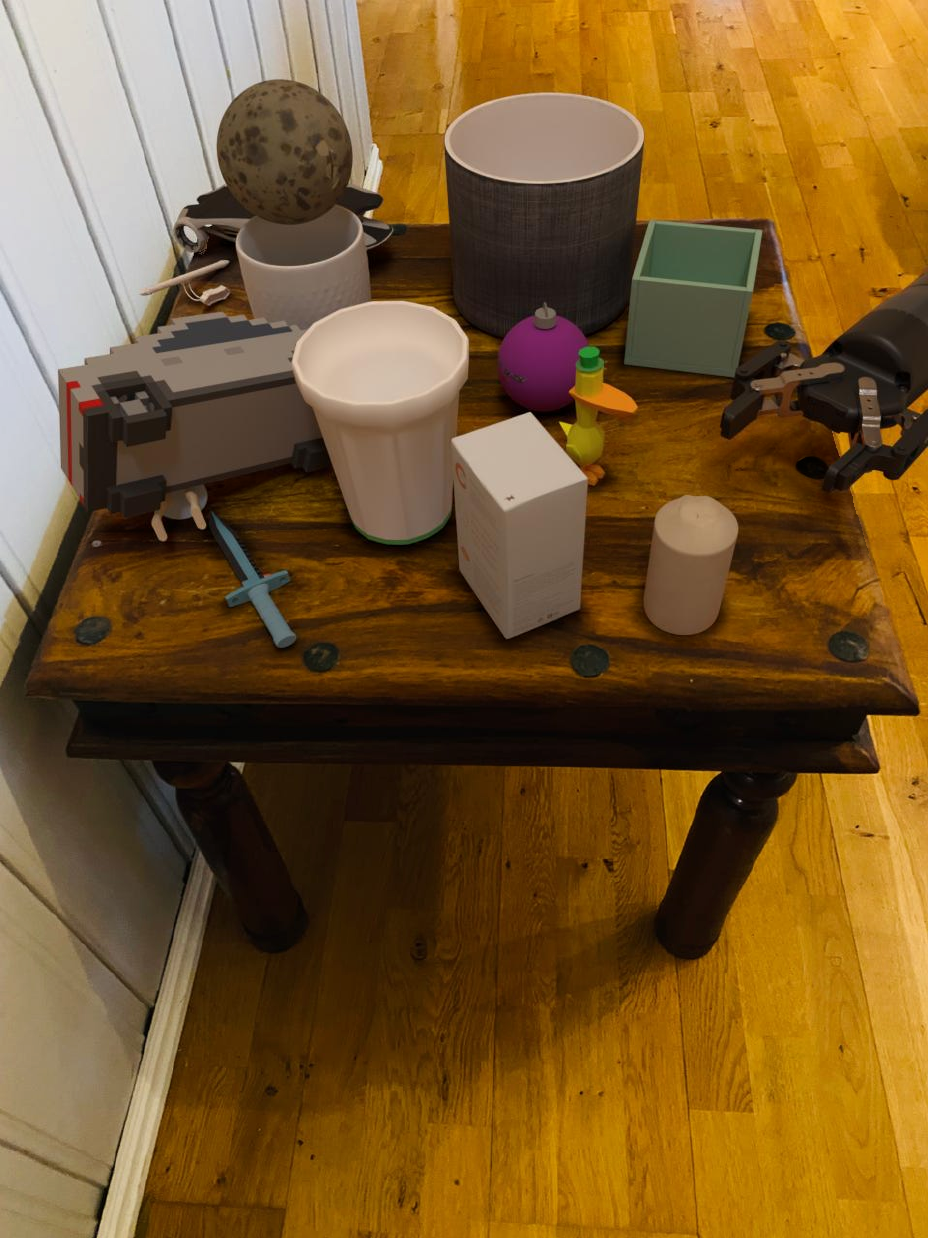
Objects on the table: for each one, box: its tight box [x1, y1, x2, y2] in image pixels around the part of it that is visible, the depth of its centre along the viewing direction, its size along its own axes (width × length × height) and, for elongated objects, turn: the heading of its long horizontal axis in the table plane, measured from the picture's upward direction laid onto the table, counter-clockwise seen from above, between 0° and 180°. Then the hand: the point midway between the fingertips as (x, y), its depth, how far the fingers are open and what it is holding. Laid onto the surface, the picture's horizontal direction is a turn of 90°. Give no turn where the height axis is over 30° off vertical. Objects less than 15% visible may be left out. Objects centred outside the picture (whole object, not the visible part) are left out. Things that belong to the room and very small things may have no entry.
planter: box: [443, 92, 646, 339], centre depth 94 cm, size 18×18×16 cm
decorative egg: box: [216, 78, 354, 225], centre depth 82 cm, size 11×11×15 cm
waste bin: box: [623, 219, 763, 379], centre depth 90 cm, size 10×10×9 cm
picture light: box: [139, 259, 231, 306], centre depth 101 cm, size 14×4×2 cm, turn 154°
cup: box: [291, 300, 470, 546], centre depth 75 cm, size 12×12×15 cm
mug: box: [235, 205, 372, 330], centre depth 90 cm, size 15×11×13 cm
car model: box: [172, 183, 394, 254], centre depth 106 cm, size 11×24×5 cm, turn 66°
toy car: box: [57, 311, 333, 520], centre depth 77 cm, size 9×24×10 cm
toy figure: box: [558, 346, 639, 487], centre depth 77 cm, size 7×4×12 cm, turn 53°
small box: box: [451, 411, 589, 640], centre depth 70 cm, size 8×6×13 cm
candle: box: [643, 494, 739, 636], centre depth 69 cm, size 6×6×10 cm
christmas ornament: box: [496, 302, 590, 413], centre depth 85 cm, size 8×8×10 cm
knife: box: [208, 509, 298, 649], centre depth 76 cm, size 17×1×5 cm
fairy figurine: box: [151, 484, 208, 542], centre depth 80 cm, size 12×5×12 cm
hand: (775, 455), depth 70 cm, fingers open, 8 cm apart
